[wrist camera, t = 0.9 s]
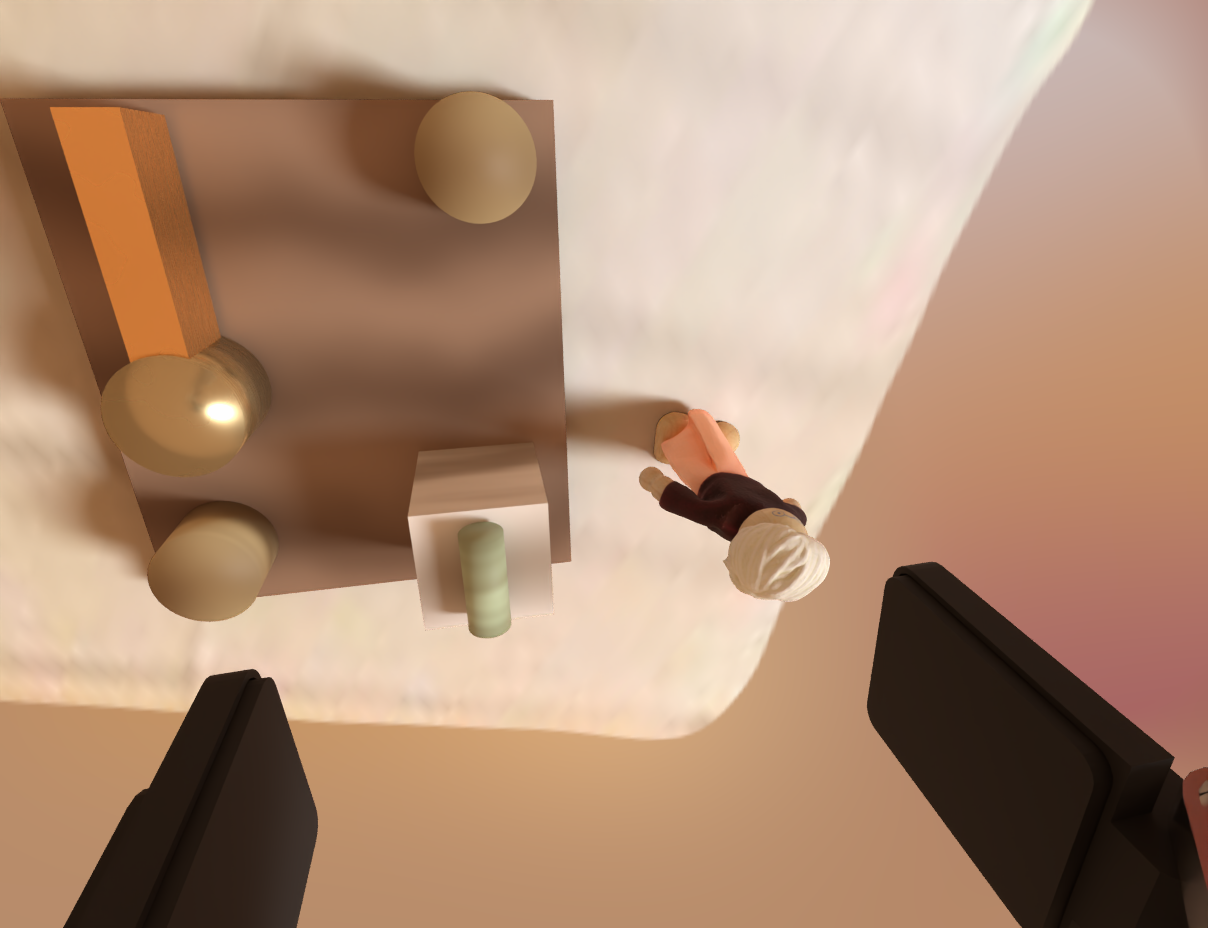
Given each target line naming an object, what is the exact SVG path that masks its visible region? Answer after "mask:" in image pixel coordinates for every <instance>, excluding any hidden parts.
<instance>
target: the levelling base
mask: <svg viewBox="0 0 1208 928" xmlns="http://www.w3.org/2000/svg"><path fill="white" fill-rule="evenodd" d="M0 101H1V104H2V107H3V110H4V113H5V116H6V118H7V121H8V124H9V127H10V130H11V133H12V136H13V139H14V142H15V145H16V148H17V151H18V153H19V156H20V159H21V162H22V165H23V168H24V171H25V174H26V177H27V180H28V183H29V186H30V188H31V191H32V194H33V197H34V200H35V203H36V206H37V209H38V212H39V215H40V218H41V221H42V224H43V226H44V229H45V232H46V235H47V238H48V241H49V244H50V247H51V250H52V253H53V256H54V259H55V261H56V264H57V267H58V270H59V273H60V276H61V279H62V282H63V285H64V288H65V291H66V294H67V296H68V299H69V302H70V305H71V308H72V311H73V314H74V317H75V320H76V323H77V326H78V329H79V331H80V334H81V337H82V340H83V343H84V346H85V349H86V352H87V355H88V358H89V361H90V364H91V367H92V369H93V372H94V375H95V378H96V381H97V384H98V387H99V390H100V393H101V396H102V394H103V391H104V389H105V386H106V385H107V383H108V381H109V380H110V378H111V377H112V376H113V375H114V374H115V373H116V372H117V371H118V370H120V369H121V368H122V367H124V366H126V365H127V364H129V363H130V360H129V357H128V353H127V350H126V347H125V344H124V341H123V338H122V334H121V331H120V328H119V325H118V322H117V319H116V316H115V312H114V309H113V306H112V303H111V300H110V297H109V293H108V290H107V287H106V284H105V281H104V278H103V274H102V271H101V268H100V265H99V262H98V259H97V256H96V252H95V249H94V246H93V243H92V240H91V237H90V233H89V230H88V227H87V224H86V221H85V218H84V215H83V211H82V208H81V205H80V202H79V199H78V196H77V192H76V189H75V186H74V183H73V180H72V177H71V173H70V170H69V167H68V164H67V161H66V158H65V155H64V151H63V148H62V145H61V142H60V139H59V136H58V132H57V129H56V126H55V123H54V120H53V117H52V114H51V110H50V107H121V108H127V109H132V110H138V111H144V112H150V113H156V114H161V115H165V119H166V123H167V127H168V131H169V135H170V139H171V143H172V147H173V151H174V155H175V159H176V163H177V167H178V170H179V174H180V178H181V182H182V186H183V190H184V194H185V198H186V202H187V206H188V210H189V214H190V218H191V222H192V225H193V229H194V233H195V237H196V241H197V245H198V249H199V253H200V257H201V261H202V265H203V269H204V273H205V277H206V280H207V284H208V288H209V292H210V296H211V300H212V304H213V308H214V312H215V316H216V320H217V324H218V328H219V332H220V335H221V336H223V337H226V338H229V339H231V340H233V341H235V342H237V343H239V344H240V345H242V346H243V347H245V348H246V349H247V350H249V351H250V352H251V353H252V354H253V355H254V356H255V357H256V358H257V359H258V361H259V362H260V363H261V364H262V366H263V368H264V369H265V371H266V373H267V375H268V378H269V381H270V384H271V391H272V399H271V405H270V408H269V411H268V413H267V415H266V417H265V419H264V420H263V421H262V423H261V424H260V425H259V426H258V428H257V429H256V430H255V431H254V433H253V434H252V435H251V436H250V438H249V439H248V440H247V441H246V443H245V444H244V445H243V446H242V448H241V449H240V450H239V451H238V453H237V454H236V455H235V456H234V457H233V458H232V459H231V460H230V462H228V463H227V464H226V465H225V466H223V467H222V468H220V469H218V470H216V471H214V472H211V473H209V474H205V475H202V476H195V477H173V476H168V475H163V474H160V473H156V472H154V471H151V470H149V469H146V468H144V467H143V466H141V465H139V464H137V463H136V462H134V461H133V460H131V459H130V458H129V457H127V456H126V455H125V454H124V453H123V452H122V451H121V450H120V451H121V454H122V457H123V460H124V463H125V466H126V469H127V472H128V475H129V477H130V480H131V483H132V486H133V489H134V492H135V495H136V498H137V501H138V504H139V507H140V510H141V512H142V515H143V518H144V521H145V524H146V527H147V530H148V533H149V536H150V539H151V542H152V545H153V547H154V550H155V555H154V556H153V557H152V559H151V561H150V563H149V567H148V574H147V576H148V583H149V586H150V588H151V591H152V593H153V594H154V596H155V597H156V598H157V600H158V601H159V602H160V603H161V604H162V605H163V606H165V607H166V608H167V609H169V610H170V611H172V612H174V613H175V614H178V615H180V616H182V617H185V618H188V619H192V620H197V621H209V622H211V621H221V620H226V619H229V618H232V617H235V616H237V615H239V614H241V613H242V612H244V611H245V610H246V609H248V608H249V607H250V606H251V605H252V603H253V602H254V601H255V599H256V597H262V596H271V595H279V594H288V593H297V592H306V591H315V590H324V589H332V588H341V587H350V586H359V585H368V584H376V583H385V582H394V581H403V580H412V579H417V581H418V587H419V594H420V600H421V607H422V613H423V620H424V626H425V630H433V629H440V628H448V627H456V626H464V625H468V626H469V631H470V632H471V633H472V634H473V635H474V636H476V637H479V638H494V637H497V636H500V635H502V634H504V633H505V632H507V631H508V629H509V628H510V626H511V620H512V619H520V618H528V617H536V616H544V615H551V614H554V607H553V588H552V570H551V564H553V563H562V562H570V561H571V546H570V520H569V494H568V469H567V443H566V418H565V392H564V366H563V341H562V315H561V290H560V264H559V238H558V213H557V187H556V162H555V136H554V110H553V100H500V99H498V98H497V97H495V96H492V95H489V94H486V93H482V92H473V91H468V92H460V93H455V94H452V95H450V96H447V97H445V98H444V99H442V100H320V99H0Z"/></svg>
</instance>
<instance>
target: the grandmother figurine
mask: <svg viewBox="0 0 1208 928" xmlns="http://www.w3.org/2000/svg"><path fill="white" fill-rule="evenodd" d="M739 441H740V437H739V433H738V431H737V429H736V428H735V427H734V426H733V425H731V424H729V423H727V422H717V423H716V421H715V420H714V419H713V417H712V416H711V415H710V414H709V413H708V412H706V411H704V410H700V409H692V410H690V411H689V412H688V415H686V414H684V413H679V412H671V413H668V414H666V415H664V416H663V417H662V418H661V419H660V421H659V422H658V424H657V428H656V435H655V444H654V455H655V457H656V459H657V460H658V461H660V462H662V463H665V464H670V465H671V467H672V469H673V470H674V471H675V472H676V473H677V475H678V476H679V478H680V479H681V480H682V481H683V482H684V483H685V484H686V485H687V486H688V487H690V488H691V490H690V489H689V488H688V487H686V486H684V485H682V484H680V483H678V482H676V481H673V480H672V479H671V478H669V477H666V476H664V475H663V473H662V472H661V471H660V470H659V469H657V468H655V467H648V468H646V469H644V470H643V471H642V472H641V474H640V477H639V482H640V485H641V486H642V487H643V488H644V489H645V490H647V491H649V492H651V493H652V496H653V497H654V498H656V499H657V500H658V501H659V505H660V506H661V508H663V509H664V510H666V511H668V512H671V513H674V514H676V515H679V516H682V517H684V518H687V519H689V520H691V521H694V522H696V523H699V524H701V525H704V526H707V527H708V528H709V529H710V530H711V531H714V532H716V533H717V534H718V535H720V536H721V537H723V538H724V539H726V540H728V541H730V542H731V543H730V546H729V552H728V557H727V559H726V560H723V562H724V563H725V565H726V567H727V569H728V570H729V576H730V578H731V580H732V582H733V584H734V585H735V586H736V588H737V589H738V590H739V591H741V592H743V593H745V594H748V595H751V596H753V597H754V598H757V599H763V600H780V601H784V602H788V601H795V600H798V599H800V598H802V597H804V596H806V595H807V594H809V593H810V592H811V591H812V590H813V589H815V588H816V587H817V586H818V585H820V583H821V582H822V581H823V580H824V579H825V577H826V575H827V573H828V570H829V566H830V558H829V555H828V553H827V550H826V549H825V547H824V546H823V544H821V543H820V542H819V541H817V540H816V539H814V538H812V537H810V536H808V534H807V531H806V529H805V527H804V526H805V525H806V521H807V518H806V515H805V513H804V512H803V510H802V509H801V506H800V504H799V503H798V502H797V501H796V500H794V499H791V498H787V499H784V500H781V499H780V498H779V497H778V496H777V495H776V494H775V493H773V492H772V491H771V490H768V489H767V488H765V487H764V486H763V485H762V484H761V483H759V482H757V481H755V480H753V479H751V478H749V477H748V476H747V474H746V472H745V469H744V468H743V466H742V464H741V463H740V461H739V459H738V458H737V456H736V454H735V453H734V451H735V450H736V449H737V447H738V446H739Z"/></svg>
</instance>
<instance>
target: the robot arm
mask: <svg viewBox="0 0 1208 928" xmlns="http://www.w3.org/2000/svg"><path fill="white" fill-rule="evenodd" d="M867 710H868V714H869V718H870V720H871V723H872V725H873V726H874V728H875V729H876V731H877V732H878V733H879V735H880V736H881V738H882V739H883V740H884V742H885V743H886V744H887V746H888V747H889V749H890V750H891V751H892V752H893V754H894V755H895V756H896V758H897V759H898V761H899V762H900V763H901V765H902V766H903V767H904V769H905V770H906V772H907V773H908V774H909V776H910V777H911V778H912V780H913V781H914V782H915V784H916V785H917V786H918V788H919V789H920V791H921V792H922V793H923V794H924V796H925V797H926V799H927V800H928V801H929V803H930V804H931V805H932V807H933V808H934V809H935V811H936V812H937V814H938V815H939V816H940V817H941V819H942V820H943V822H944V823H945V824H946V826H947V827H948V828H949V830H950V831H951V833H952V834H953V835H954V837H955V838H956V839H957V841H958V842H959V844H960V845H961V846H962V848H963V849H964V850H965V851H966V853H967V854H968V856H969V857H970V858H971V860H972V861H973V862H974V864H975V865H976V867H977V868H978V869H979V871H980V872H981V873H982V875H983V876H984V877H985V879H986V880H987V881H988V883H989V884H990V886H991V887H992V888H993V890H994V891H995V892H996V894H997V895H998V896H999V898H1000V899H1001V900H1002V902H1003V903H1004V904H1005V906H1006V907H1007V909H1008V910H1009V911H1010V913H1011V914H1012V915H1013V917H1014V918H1015V920H1016V921H1017V922H1018V923H1019V924H1020V926H1021V927H1022V928H1208V767H1203V768H1200V769H1197V770H1194V771H1192V772H1190V773H1189V774H1188V775H1187V776H1186V778H1185V779H1184V780H1183V779H1182V778H1181V777H1180V776H1179V775H1177V774H1176V773H1175V772H1174V771H1173V770H1172V769H1170V767H1171V765H1172V763H1173V760H1174V757H1173V756H1172V755H1171V754H1170V753H1169V752H1167V751H1166V750H1165V749H1164V748H1163V747H1161V746H1160V745H1159V744H1158V743H1156V742H1155V741H1154V740H1153V739H1152V738H1150V737H1149V736H1148V735H1147V734H1145V733H1144V732H1143V731H1142V730H1141V729H1139V728H1138V727H1137V726H1136V725H1135V724H1133V723H1132V722H1131V721H1130V720H1129V719H1127V718H1126V717H1125V716H1124V715H1122V714H1121V713H1120V712H1119V711H1118V710H1116V709H1115V708H1114V707H1113V706H1112V705H1110V704H1109V703H1108V702H1107V701H1105V700H1104V699H1103V698H1102V697H1101V696H1099V695H1098V694H1097V693H1096V692H1094V691H1093V690H1092V689H1091V688H1090V687H1088V686H1087V685H1086V684H1085V683H1084V682H1082V681H1081V680H1080V679H1079V678H1078V677H1076V676H1075V675H1074V674H1073V673H1072V672H1070V671H1069V670H1068V669H1067V668H1065V667H1064V666H1063V665H1062V664H1061V663H1059V662H1058V661H1057V660H1056V659H1055V658H1053V657H1052V656H1051V655H1050V654H1048V653H1047V652H1046V651H1045V650H1044V649H1042V648H1041V647H1040V646H1039V645H1037V644H1036V643H1035V642H1034V641H1033V640H1031V639H1030V638H1029V637H1028V636H1027V635H1025V634H1024V633H1023V632H1022V631H1021V630H1019V629H1018V628H1017V627H1016V626H1014V625H1013V624H1012V623H1011V622H1010V621H1008V620H1007V619H1006V618H1005V617H1004V616H1002V615H1001V614H1000V613H999V612H997V611H996V610H995V609H994V608H993V607H991V606H990V605H989V604H988V603H987V602H985V601H984V600H983V599H982V598H980V597H979V596H978V595H977V594H976V593H974V592H973V591H972V590H971V589H969V588H968V587H967V586H966V585H965V584H963V583H962V582H961V581H960V580H959V579H957V578H956V577H955V576H954V575H953V574H951V573H950V572H949V571H948V570H946V569H945V568H944V567H943V566H942V565H940V564H938V563H936V562H927V563H921V564H915V565H908V566H901V567H899V568H897V569H896V571H895V572H894V575H893V577H891V578H889V579H888V580H887V581H886V584H885V589H884V596H883V602H882V609H881V616H880V622H879V628H878V635H877V641H876V648H875V655H874V662H873V668H872V674H871V681H870V687H869V694H868V701H867ZM317 829H318V817H317V810H316V807H315V803H314V801H313V797H312V794H311V791H310V788H309V785H308V782H307V779H306V776H305V773H304V770H303V767H302V764H301V761H300V758H299V755H298V751H297V748H296V746H295V743H294V739H293V736H292V733H291V730H290V727H289V724H288V721H287V718H286V715H285V712H284V709H283V706H282V703H281V699H280V696H279V693H278V690H277V687H276V684H275V682H274V680H273V679H272V678H270V677H267V678H261V676H260V674H259V673H258V672H257V671H256V670H254V669H250V670H243V671H237V672H231V673H224V674H218V675H212V676H209V677H208V678H206V680H205V681H204V683H203V684H202V686H201V688H200V690H199V692H198V694H197V696H196V698H195V700H194V702H193V704H192V705H191V707H190V709H189V711H188V713H187V715H186V717H185V719H184V721H183V723H182V725H181V727H180V729H179V731H178V733H177V735H176V736H175V738H174V740H173V742H172V745H171V746H170V748H169V750H168V752H167V754H166V756H165V758H164V760H163V762H162V764H161V766H160V768H159V769H158V771H157V773H156V775H155V777H154V779H153V781H152V783H151V785H150V787H149V788H148V789H144V790H142V791H141V792H140V793H139V794H137V795H136V796H135V797H134V799H133V800H132V802H131V803H130V805H129V806H128V807H127V809H126V811H125V813H124V815H123V817H122V819H121V820H120V822H119V824H118V826H117V828H116V830H115V832H114V834H113V836H112V837H111V840H110V841H109V843H108V845H107V847H106V849H105V850H104V852H103V855H102V856H101V858H100V860H99V862H98V864H97V866H96V867H95V870H94V871H93V873H92V875H91V877H90V879H89V880H88V882H87V884H86V886H85V888H84V890H83V892H82V894H81V896H80V897H79V900H78V901H77V903H76V905H75V907H74V909H73V910H72V912H71V914H70V916H69V918H68V920H67V922H66V924H65V925H64V927H63V928H296V927H297V923H298V918H299V914H300V909H301V905H302V901H303V896H304V892H305V887H306V883H307V878H308V874H309V869H310V865H311V861H312V856H313V851H314V847H315V842H316V837H317Z"/></svg>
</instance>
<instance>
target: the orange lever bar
mask: <svg viewBox="0 0 1208 928" xmlns="http://www.w3.org/2000/svg"><path fill="white" fill-rule="evenodd" d="M50 110H51V114H52V117H53V120H54V123H55V126H56V129H57V132H58V136H59V139H60V142H61V145H62V148H63V151H64V155H65V158H66V161H67V164H68V167H69V170H70V173H71V177H72V180H73V183H74V186H75V189H76V192H77V196H78V199H79V202H80V205H81V208H82V211H83V215H84V218H85V221H86V224H87V227H88V230H89V233H90V237H91V240H92V243H93V246H94V249H95V252H96V256H97V259H98V262H99V265H100V268H101V271H102V274H103V278H104V281H105V284H106V287H107V290H108V293H109V297H110V300H111V303H112V306H113V309H114V312H115V316H116V319H117V322H118V325H119V328H120V331H121V334H122V338H123V341H124V344H125V347H126V350H127V353H128V357H129V360H130V363H129V364H127V365H126V366H124V367H122V368H121V369H120V370H118V371H117V372H116V373H115V374H114V375H113V376H112V377H111V378H110V380H109V381H108V383H107V385H106V386H105V389H104V391H103V394H102V399H101V415H102V419H103V423H104V426H105V428H106V431H107V433H108V434H109V436H110V438H111V439H112V441H113V442H114V443H115V445H116V446H117V447H118V448H119V449H120V450H121V451H122V452H123V453H124V454H125V455H126V456H127V457H129V458H130V459H131V460H133V461H134V462H136V463H137V464H139V465H141V466H143V467H144V468H146V469H149V470H151V471H154V472H156V473H160V474H163V475H168V476H173V477H195V476H202V475H205V474H209V473H211V472H214V471H216V470H218V469H220V468H222V467H223V466H225V465H226V464H227V463H228V462H230V460H231V459H232V458H233V457H234V456H235V455H236V454H237V453H238V451H239V450H240V449H241V448H242V446H243V445H244V444H245V443H246V441H247V440H248V439H249V438H250V436H251V435H252V434H253V433H254V431H255V430H256V429H257V428H258V426H259V425H260V424H261V423H262V421H263V420H264V419H265V417H266V415H267V413H268V411H269V408H270V405H271V399H272V391H271V384H270V381H269V378H268V375H267V373H266V371H265V369H264V368H263V366H262V364H261V363H260V362H259V361H258V359H257V358H256V357H255V356H254V355H253V354H252V353H251V352H250V351H249V350H247V349H246V348H245V347H243V346H242V345H240V344H239V343H237V342H235V341H233V340H231V339H229V338H226V337H223V336H221V335H220V332H219V328H218V324H217V320H216V316H215V312H214V308H213V304H212V300H211V296H210V292H209V288H208V284H207V280H206V277H205V273H204V269H203V265H202V261H201V257H200V253H199V249H198V245H197V241H196V237H195V233H194V229H193V225H192V222H191V218H190V214H189V210H188V206H187V202H186V198H185V194H184V190H183V186H182V182H181V178H180V174H179V170H178V167H177V163H176V159H175V155H174V151H173V147H172V143H171V139H170V135H169V131H168V127H167V123H166V119H165V115H161V114H156V113H150V112H144V111H138V110H132V109H127V108H121V107H50Z"/></svg>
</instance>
